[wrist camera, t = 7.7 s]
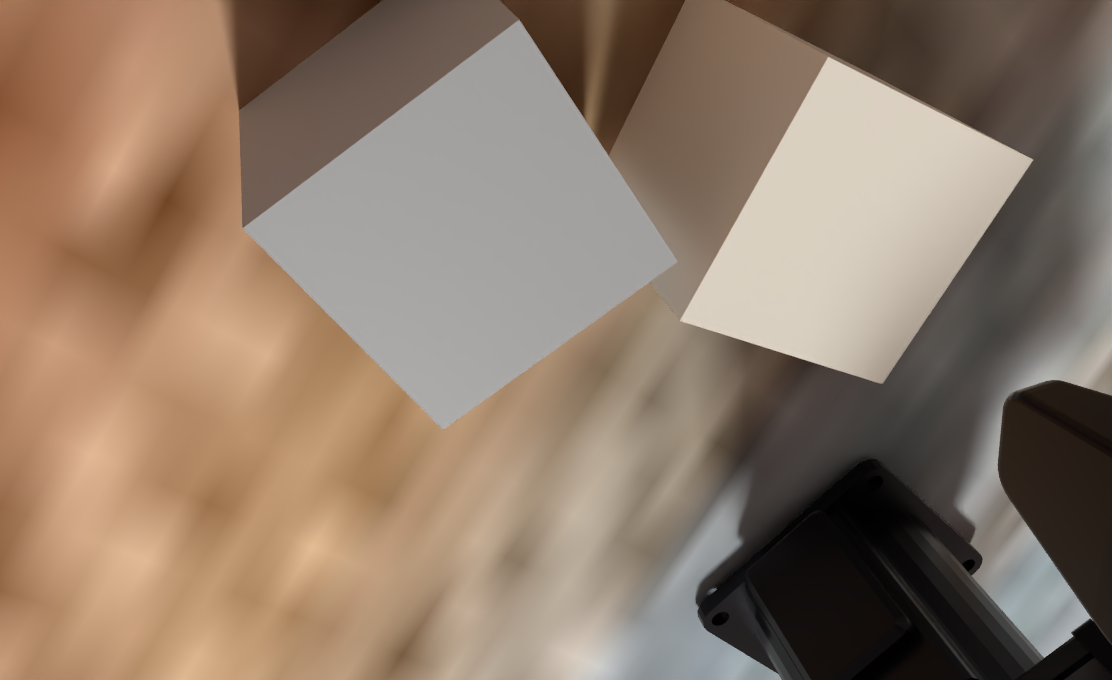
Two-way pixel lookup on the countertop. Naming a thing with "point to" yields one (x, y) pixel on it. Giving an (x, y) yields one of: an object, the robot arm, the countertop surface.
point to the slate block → (442, 198)
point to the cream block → (803, 191)
